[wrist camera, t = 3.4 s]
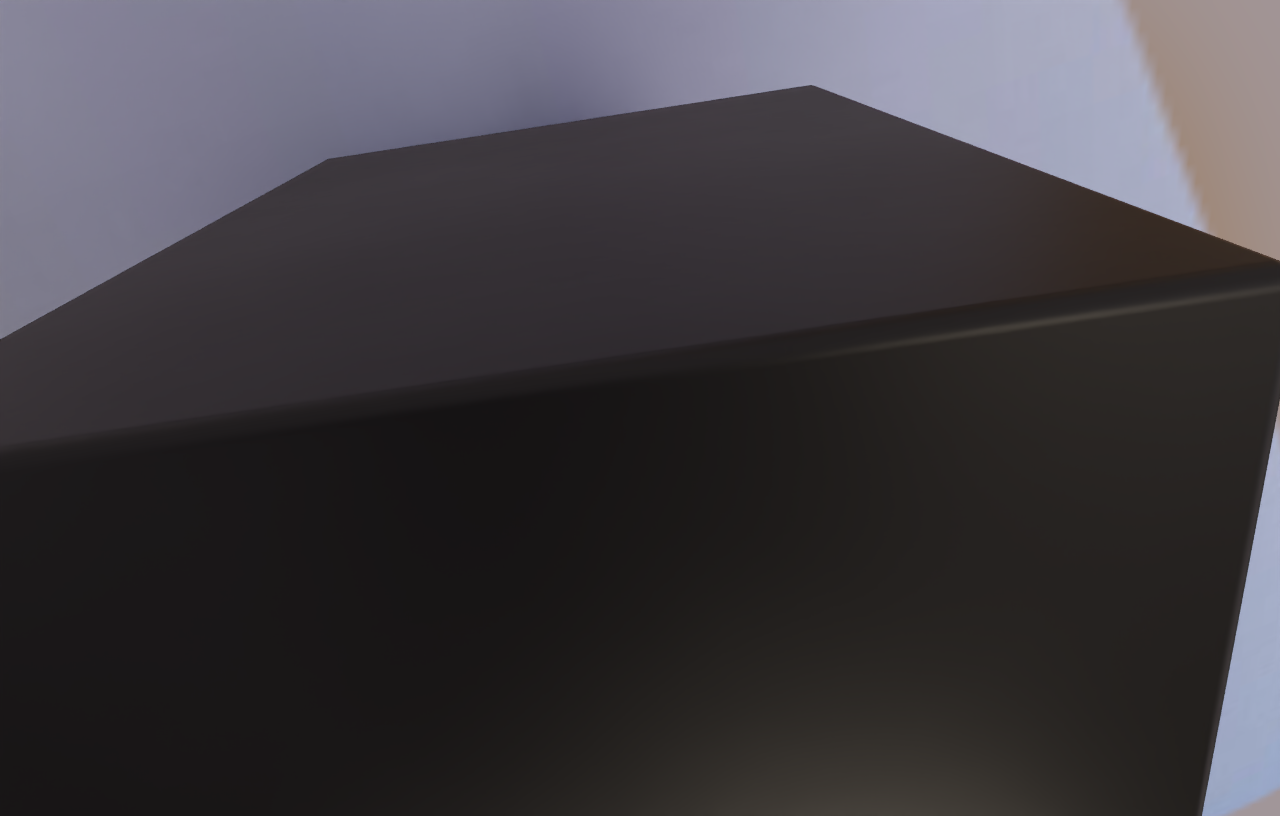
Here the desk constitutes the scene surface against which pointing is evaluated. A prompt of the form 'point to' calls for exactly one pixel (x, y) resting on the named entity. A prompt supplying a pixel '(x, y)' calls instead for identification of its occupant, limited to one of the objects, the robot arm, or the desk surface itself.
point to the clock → (640, 487)
